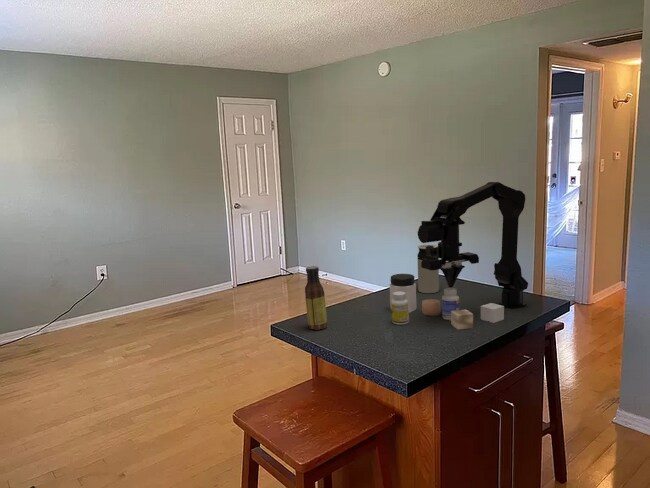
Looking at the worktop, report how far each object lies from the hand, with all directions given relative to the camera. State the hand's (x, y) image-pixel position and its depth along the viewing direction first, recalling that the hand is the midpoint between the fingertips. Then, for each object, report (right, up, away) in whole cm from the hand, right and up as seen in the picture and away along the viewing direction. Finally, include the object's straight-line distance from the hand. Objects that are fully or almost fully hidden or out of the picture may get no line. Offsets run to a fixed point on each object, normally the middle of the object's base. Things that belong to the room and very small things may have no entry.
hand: (450, 287), depth 160 cm
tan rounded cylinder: (-5, -10, +8) cm, 13 cm away
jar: (-13, -9, +13) cm, 21 cm away
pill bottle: (0, -10, +2) cm, 11 cm away
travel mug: (0, -5, +35) cm, 35 cm away
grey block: (+13, -10, -2) cm, 17 cm away
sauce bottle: (-43, -13, 0) cm, 45 cm away
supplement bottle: (-16, -12, 0) cm, 20 cm away
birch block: (+2, -12, -6) cm, 13 cm away
